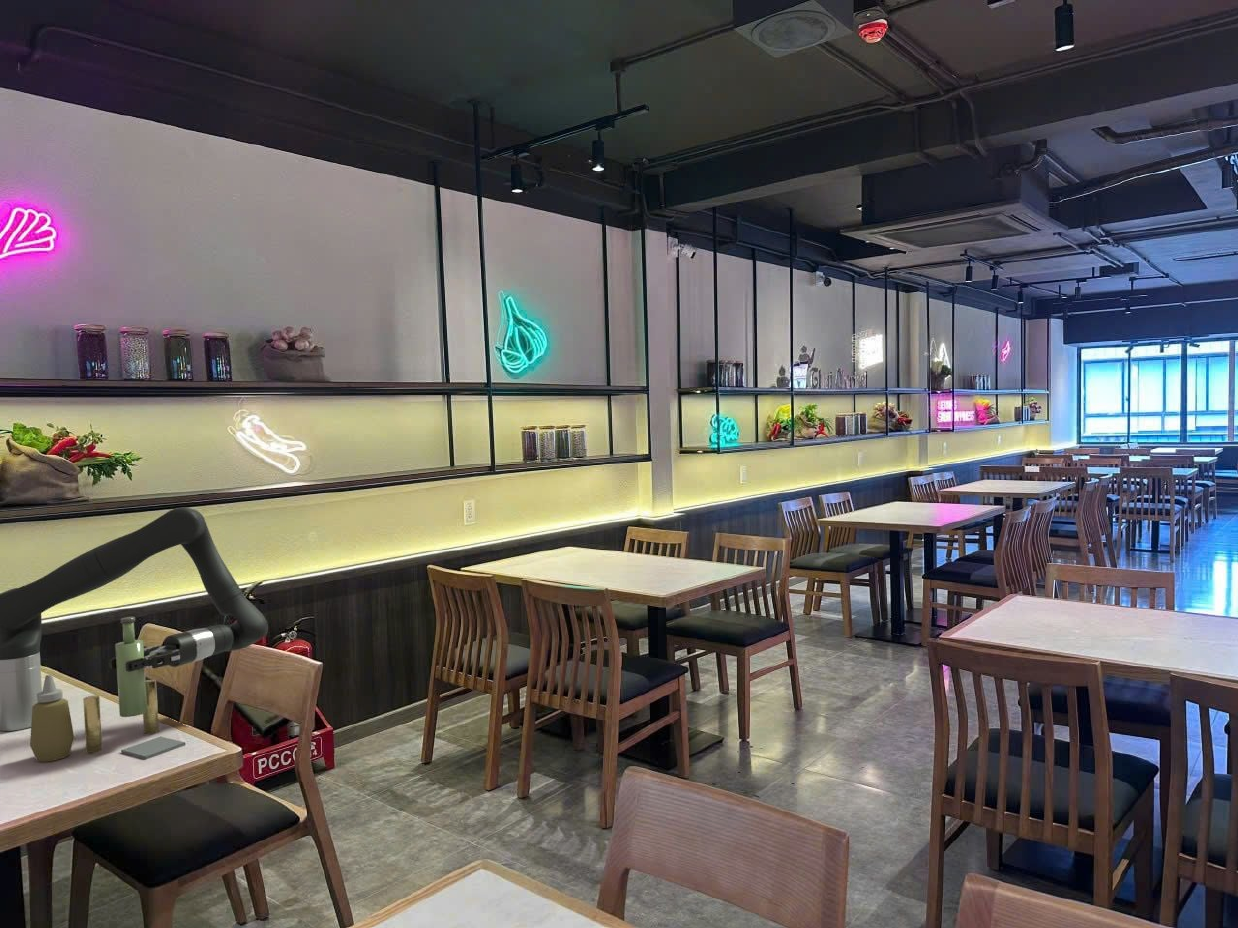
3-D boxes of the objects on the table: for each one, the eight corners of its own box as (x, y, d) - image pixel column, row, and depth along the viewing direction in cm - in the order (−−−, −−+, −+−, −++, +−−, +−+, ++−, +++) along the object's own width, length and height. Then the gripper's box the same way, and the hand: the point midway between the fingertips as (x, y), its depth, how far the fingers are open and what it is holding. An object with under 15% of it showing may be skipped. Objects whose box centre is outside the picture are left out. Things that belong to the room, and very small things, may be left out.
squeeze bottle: (47, 766, 177) (43, 682, 176) (21, 762, 180) (16, 679, 179) (84, 752, 184) (79, 671, 184) (58, 748, 187) (53, 669, 187)
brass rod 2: (141, 733, 196) (138, 682, 195) (153, 728, 198) (151, 678, 198) (149, 734, 194) (146, 683, 194) (161, 730, 197) (158, 680, 196)
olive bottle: (114, 715, 188) (108, 619, 187) (137, 707, 193) (132, 614, 192) (128, 718, 186) (123, 621, 185) (152, 710, 190) (146, 616, 189)
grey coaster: (121, 752, 183) (121, 749, 183) (160, 738, 191) (160, 736, 191) (146, 759, 179) (145, 756, 179) (185, 744, 187) (185, 742, 187)
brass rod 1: (83, 752, 184) (80, 698, 184) (97, 747, 187) (94, 694, 187) (91, 754, 183) (88, 700, 182) (105, 749, 186) (102, 696, 185)
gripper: (169, 628, 204) (98, 646, 190) (207, 633, 198) (137, 652, 183) (171, 659, 205) (100, 678, 190) (209, 665, 198) (139, 685, 183)
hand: (119, 665), depth 186 cm, fingers closed on olive bottle, 5 cm apart
